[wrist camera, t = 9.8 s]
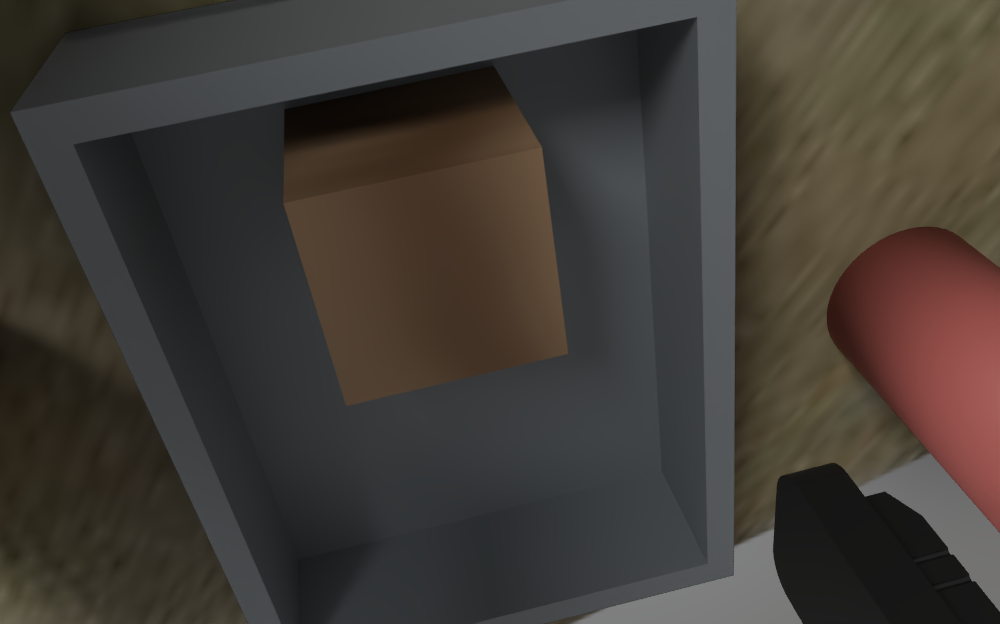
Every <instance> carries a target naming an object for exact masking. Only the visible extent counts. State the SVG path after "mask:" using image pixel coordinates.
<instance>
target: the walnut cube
mask: <svg viewBox="0 0 1000 624" xmlns="http://www.w3.org/2000/svg"><path fill="white" fill-rule="evenodd" d="M283 204H284V207H285V210H286V213H287V216H288V220H289V223H290V226H291V229H292V233H293V236H294V239H295V242H296V245H297V249H298V252H299V255H300V258H301V262H302V265H303V268H304V271H305V274H306V278H307V281H308V284H309V287H310V291H311V294H312V297H313V300H314V303H315V307H316V310H317V313H318V316H319V320H320V323H321V326H322V329H323V332H324V336H325V339H326V342H327V345H328V348H329V352H330V355H331V358H332V361H333V365H334V368H335V371H336V374H337V377H338V381H339V384H340V387H341V390H342V394H343V397H344V400H345V403H346V406H349V405H353V404H357V403H361V402H366V401H370V400H374V399H378V398H383V397H387V396H391V395H395V394H400V393H404V392H408V391H412V390H417V389H421V388H425V387H429V386H434V385H438V384H442V383H446V382H451V381H455V380H459V379H463V378H468V377H472V376H476V375H480V374H485V373H489V372H493V371H497V370H502V369H506V368H510V367H514V366H519V365H523V364H527V363H532V362H536V361H540V360H544V359H549V358H553V357H557V356H561V355H566V354H568V348H567V340H566V332H565V324H564V316H563V308H562V301H561V293H560V285H559V277H558V269H557V261H556V253H555V246H554V238H553V230H552V222H551V214H550V206H549V198H548V191H547V183H546V175H545V167H544V159H543V151H542V147H541V145H540V143H539V141H538V140H537V138H536V136H535V135H534V133H533V131H532V130H531V128H530V126H529V124H528V123H527V121H526V119H525V118H524V116H523V114H522V113H521V111H520V109H519V107H518V106H517V104H516V102H515V101H514V99H513V97H512V96H511V94H510V92H509V91H508V89H507V87H506V85H505V84H504V82H503V80H502V79H501V77H500V75H499V74H498V72H497V70H496V68H495V67H494V66H490V67H485V68H481V69H476V70H471V71H466V72H461V73H456V74H452V75H447V76H442V77H437V78H432V79H428V80H423V81H418V82H413V83H408V84H404V85H399V86H394V87H389V88H384V89H380V90H375V91H370V92H365V93H360V94H356V95H351V96H346V97H341V98H336V99H332V100H327V101H322V102H317V103H312V104H308V105H303V106H298V107H293V108H288V109H284V195H283Z"/></svg>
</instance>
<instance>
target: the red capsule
mask: <svg viewBox="0 0 1000 624" xmlns="http://www.w3.org/2000/svg"><path fill="white" fill-rule="evenodd" d="M827 326H828V331H829V334H830V336H831V338H832V340H833V342H834V343H835V344H836V346H837V347H838V348H839V349H840V350H841V351H842V352H843V354H844V355H845V356H846V357H847V358H848V359H849V361H850V362H851V363H852V364H853V365H854V366H855V367H856V369H857V370H858V371H859V372H860V373H861V374H862V375H863V377H864V378H865V379H866V380H867V381H868V382H869V383H870V385H871V386H872V387H873V388H874V389H875V390H876V391H877V393H878V394H879V395H880V396H881V397H882V398H883V399H884V401H885V402H886V403H887V404H888V405H889V406H890V408H891V409H892V410H893V411H894V412H895V413H896V414H897V416H898V417H899V418H900V419H901V420H902V421H903V422H904V424H905V425H906V426H907V427H908V428H909V429H910V430H911V432H912V433H913V434H914V435H915V436H916V437H917V438H918V440H919V441H920V442H921V443H922V444H923V445H924V446H925V448H926V449H927V450H928V451H929V452H930V453H931V454H932V456H933V457H934V458H935V459H936V460H937V461H938V462H939V464H940V465H941V466H942V467H943V468H944V469H945V470H946V472H947V473H948V474H949V475H950V476H951V477H952V479H953V480H954V481H955V482H956V483H957V484H958V485H959V487H960V488H961V489H962V490H963V491H964V492H965V493H966V495H967V496H968V497H969V498H970V499H971V500H972V501H973V503H974V504H975V505H976V506H977V507H978V508H979V509H980V511H981V512H982V513H983V514H984V515H985V516H986V517H987V519H988V520H989V521H990V522H991V523H992V524H993V525H994V527H995V528H996V529H997V530H998V531H999V532H1000V268H999V267H998V266H997V265H995V264H994V263H993V262H991V261H990V260H989V259H988V258H986V257H985V256H984V255H982V254H981V253H980V252H978V251H977V250H976V249H975V248H973V247H972V246H971V245H969V244H968V243H967V242H966V241H964V240H963V239H962V238H960V237H959V236H957V235H956V234H955V233H953V232H950V231H948V230H946V229H941V228H937V227H918V228H912V229H907V230H904V231H900V232H897V233H895V234H892V235H890V236H888V237H886V238H884V239H882V240H880V241H878V242H877V243H875V244H874V245H872V246H871V247H869V248H868V249H867V250H866V251H864V252H863V253H862V254H861V255H860V256H858V257H857V258H856V259H855V260H854V261H853V262H852V263H851V265H850V266H849V267H848V268H847V269H846V270H845V272H844V273H843V275H842V276H841V277H840V279H839V281H838V282H837V284H836V286H835V288H834V290H833V292H832V295H831V297H830V301H829V304H828V310H827Z"/></svg>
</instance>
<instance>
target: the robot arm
mask: <svg viewBox="0 0 1000 624" xmlns="http://www.w3.org/2000/svg"><path fill="white" fill-rule="evenodd" d="M773 554H774V561H775V566H776V570H777V573H778V576H779V579H780V582H781V584H782V587H783V589H784V591H785V593H786V595H787V597H788V599H789V600H790V602H791V604H792V605H793V607H794V609H795V611H796V612H797V614H798V616H799V618H800V619H801V620H802V623H803V624H1000V612H999V610H998V609H997V608H996V607H995V605H994V604H993V603H992V602H991V601H990V599H989V598H988V597H987V596H986V595H985V593H984V592H983V591H982V589H981V588H980V587H979V586H978V584H977V583H976V582H975V581H973V582H972V581H971V579H970V577H969V573H968V572H967V571H966V570H965V568H964V567H963V566H962V565H961V563H960V562H959V561H958V560H957V558H956V557H955V556H954V555H950V553H949V551H948V547H947V546H946V545H945V544H944V542H943V541H942V540H941V539H940V537H939V536H938V535H937V534H936V532H935V531H934V530H933V529H932V528H931V526H930V525H929V524H928V523H927V521H926V520H925V519H924V518H923V516H921V515H920V514H918V513H917V512H915V511H914V510H912V509H911V508H909V507H908V506H906V505H905V504H903V503H901V502H900V501H899V500H897V499H896V498H894V497H892V496H891V495H889V494H887V493H886V492H882V493H878V494H874V495H870V496H867V497H865V496H864V495H863V494H862V492H861V491H860V490H859V488H858V487H857V486H856V484H855V483H854V482H853V480H852V479H851V478H850V476H849V475H848V474H847V473H846V471H845V470H844V469H843V468H842V467H841V466H839V465H838V464H835V463H830V464H826V465H822V466H818V467H814V468H810V469H807V470H803V471H799V472H795V473H791V474H787V475H783V476H781V477H780V478H779V479H778V483H777V494H776V510H775V527H774V543H773Z"/></svg>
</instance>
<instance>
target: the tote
mask: <svg viewBox="0 0 1000 624" xmlns="http://www.w3.org/2000/svg"><path fill="white" fill-rule="evenodd" d="M490 66H494V67H495V68H496V70H497V72H498V74H499V75H500V77H501V79H502V80H503V82H504V84H505V85H506V87H507V89H508V91H509V92H510V94H511V96H512V97H513V99H514V101H515V102H516V104H517V106H518V107H519V109H520V111H521V113H522V114H523V116H524V118H525V119H526V121H527V123H528V124H529V126H530V128H531V130H532V131H533V133H534V135H535V136H536V138H537V140H538V141H539V143H540V145H541V147H542V151H543V159H544V167H545V175H546V183H547V191H548V198H549V206H550V214H551V222H552V230H553V238H554V246H555V253H556V261H557V269H558V277H559V285H560V293H561V301H562V308H563V316H564V324H565V332H566V340H567V348H568V354H566V355H561V356H557V357H553V358H549V359H544V360H540V361H536V362H532V363H527V364H523V365H519V366H514V367H510V368H506V369H502V370H497V371H493V372H489V373H485V374H480V375H476V376H472V377H468V378H463V379H459V380H455V381H451V382H446V383H442V384H438V385H434V386H429V387H425V388H421V389H417V390H412V391H408V392H404V393H400V394H395V395H391V396H387V397H383V398H378V399H374V400H370V401H366V402H361V403H357V404H353V405H349V406H346V403H345V400H344V397H343V394H342V390H341V387H340V384H339V381H338V377H337V374H336V371H335V368H334V365H333V361H332V358H331V355H330V352H329V348H328V345H327V342H326V339H325V336H324V332H323V329H322V326H321V323H320V320H319V316H318V313H317V310H316V307H315V303H314V300H313V297H312V294H311V291H310V287H309V284H308V281H307V278H306V274H305V271H304V268H303V265H302V262H301V258H300V255H299V252H298V249H297V245H296V242H295V239H294V236H293V233H292V229H291V226H290V223H289V220H288V216H287V213H286V210H285V207H284V204H283V195H284V109H288V108H293V107H298V106H303V105H308V104H312V103H317V102H322V101H327V100H332V99H336V98H341V97H346V96H351V95H356V94H360V93H365V92H370V91H375V90H380V89H384V88H389V87H394V86H399V85H404V84H408V83H413V82H418V81H423V80H428V79H432V78H437V77H442V76H447V75H452V74H456V73H461V72H466V71H471V70H476V69H481V68H485V67H490ZM10 114H11V116H12V118H13V120H14V122H15V125H16V127H17V129H18V131H19V133H20V135H21V137H22V140H23V142H24V144H25V146H26V148H27V150H28V152H29V155H30V157H31V159H32V161H33V163H34V165H35V167H36V170H37V172H38V174H39V176H40V178H41V180H42V182H43V185H44V187H45V189H46V191H47V193H48V195H49V197H50V200H51V202H52V204H53V206H54V208H55V210H56V213H57V215H58V217H59V219H60V221H61V223H62V225H63V228H64V230H65V232H66V234H67V236H68V238H69V240H70V243H71V245H72V247H73V249H74V251H75V253H76V255H77V258H78V260H79V262H80V264H81V266H82V268H83V270H84V273H85V275H86V277H87V279H88V281H89V283H90V285H91V288H92V290H93V292H94V294H95V296H96V298H97V300H98V303H99V305H100V307H101V309H102V311H103V313H104V316H105V318H106V320H107V322H108V324H109V326H110V328H111V331H112V333H113V335H114V337H115V339H116V341H117V343H118V346H119V348H120V350H121V352H122V354H123V356H124V358H125V361H126V363H127V365H128V367H129V369H130V371H131V373H132V376H133V378H134V380H135V382H136V384H137V386H138V388H139V391H140V393H141V395H142V397H143V399H144V401H145V403H146V406H147V408H148V410H149V412H150V414H151V416H152V418H153V421H154V423H155V425H156V427H157V429H158V431H159V434H160V436H161V438H162V440H163V442H164V444H165V446H166V449H167V451H168V453H169V455H170V457H171V459H172V461H173V464H174V466H175V468H176V470H177V472H178V474H179V476H180V479H181V481H182V483H183V485H184V487H185V489H186V491H187V494H188V496H189V498H190V500H191V502H192V504H193V506H194V509H195V511H196V513H197V515H198V517H199V519H200V521H201V524H202V526H203V528H204V530H205V532H206V534H207V537H208V539H209V541H210V543H211V545H212V547H213V549H214V552H215V554H216V556H217V558H218V560H219V562H220V564H221V567H222V569H223V571H224V573H225V575H226V577H227V579H228V582H229V584H230V586H231V588H232V590H233V592H234V594H235V597H236V599H237V601H238V603H239V605H240V607H241V609H242V612H243V614H244V616H245V618H246V620H247V622H248V624H545V623H549V622H553V621H557V620H561V619H565V618H569V617H573V616H577V615H580V614H584V613H588V612H592V611H596V610H600V609H604V608H608V607H611V606H616V605H619V604H623V603H627V602H631V601H635V600H639V599H643V598H647V597H651V596H655V595H658V594H662V593H666V592H670V591H674V590H678V589H682V588H686V587H689V586H693V585H697V584H701V583H705V582H709V581H713V580H717V579H721V578H725V577H728V576H733V575H734V418H735V209H736V0H232V1H227V2H222V3H216V4H211V5H206V6H201V7H196V8H191V9H186V10H180V11H175V12H170V13H165V14H160V15H155V16H150V17H144V18H139V19H134V20H129V21H124V22H119V23H114V24H108V25H103V26H98V27H93V28H88V29H83V30H78V31H72V32H67V33H65V35H64V36H63V37H62V39H61V40H60V42H59V43H58V45H57V46H56V47H55V49H54V50H53V52H52V53H51V55H50V56H49V57H48V59H47V60H46V62H45V63H44V65H43V66H42V67H41V69H40V70H39V72H38V73H37V74H36V76H35V77H34V79H33V80H32V82H31V83H30V84H29V86H28V87H27V89H26V90H25V92H24V93H23V94H22V96H21V97H20V99H19V100H18V102H17V103H16V104H15V106H14V107H13V109H12V110H11V111H10Z"/></svg>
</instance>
